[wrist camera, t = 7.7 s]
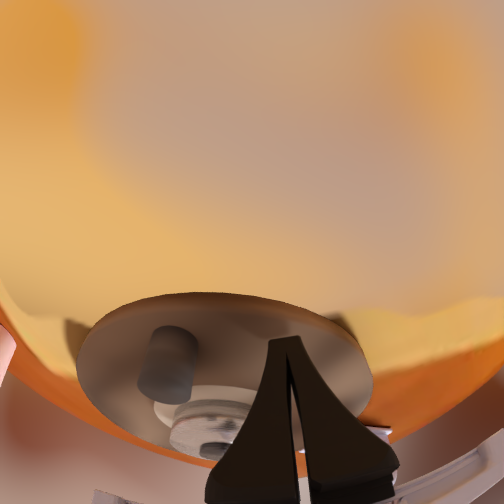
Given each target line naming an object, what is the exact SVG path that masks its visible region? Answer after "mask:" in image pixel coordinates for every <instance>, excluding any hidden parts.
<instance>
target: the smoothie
mask: <svg viewBox="0 0 504 504" xmlns="http://www.w3.org/2000/svg"><path fill="white" fill-rule="evenodd" d="M15 349H16V343H15V341H14V339H13V337H12V336H11V335H10V333H9V332H8V331H7V330H6V329H5V328H4V327H3V326H2V325H1V324H0V386H1V384H2V381H3V378H4V375H5V373H6V370H7V368H8V365H9V363H10V360H11V358H12V356H13V353H14V351H15Z"/></svg>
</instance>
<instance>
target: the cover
mask: <svg viewBox="0 0 504 504" xmlns="http://www.w3.org/2000/svg"><path fill="white" fill-rule="evenodd" d="M251 406H252V405H250V404H246V403H242V402H237V401H231V400H221V399H204V400H195V401H190V402H187V403H184V404H182V405H180V406H178V407H177V408H176V409H175V411H174V416H173V422H172V429H171V435H170V444H171V445H172V446H173V447H174V448H175V449H177V450H178V451H180V452H182V453H185V454H187V455H190V456H193V457H197V458H201V459H206V460H213V461H219V460H220V459H221V458H222V457H223V455H224V454H225V453H226V451H227V450H228V448H229V447H230V445H231V444H232V442H233V440H234V439H235V437H236V436H237V434H238V432H239V431H240V429H241V427H242V425H243V423H244V421H245V419H246V417H247V415H248V413H249V411H250V409H251Z"/></svg>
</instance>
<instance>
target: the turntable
mask: <svg viewBox="0 0 504 504" xmlns="http://www.w3.org/2000/svg"><path fill="white" fill-rule="evenodd" d="M295 335H299V336H301V340H302V342H303V345H304V347H305V349H306V351H307V353H308V355H309V357H310V359H311V361H312V362H313V364H314V366H315V367H316V369H317V370H318V372H319V374H320V375H321V377H322V378H323V380H324V381H325V382H326V384H327V385H328V386H329V388H330V389H331V390H332V392H333V393H334V394H335V395H336V397H337V398H338V399H339V400H340V401H341V402H342V404H343V405H344V406H345V407H346V408H347V409H348V410H349V411H350V412H351V413H352V414H353V415H354V416H355V417H356V418H357V417H358V416H359V415H360V414H361V413H362V412H363V410H364V409H365V407H366V406H367V404H368V402H369V400H370V398H371V395H372V390H373V376H372V374H371V371H370V368H369V366H368V363H367V360H366V358H365V355H364V353H363V350H362V349H361V347H360V346H359V344H358V343H357V342H356V340H355V339H354V338H353V337H352V336H351V335H350V334H349V333H347V332H346V331H345V330H344V329H343V328H341V327H340V326H338V325H337V324H335V323H333V322H332V321H330V320H329V319H327V318H325V317H323V316H320V315H318V314H316V313H313V312H311V311H309V310H307V309H304V308H301V307H297V306H294V305H291V304H288V303H285V302H281V301H276V300H271V299H266V298H261V297H257V296H249V295H241V294H231V293H216V292H189V293H177V294H165V295H160V296H155V297H150V298H145V299H141V300H138V301H135V302H132V303H129V304H126V305H123V306H121V307H119V308H117V309H115V310H113V311H111V312H110V313H108V314H106V315H105V316H104V317H103V318H101V320H99V321H98V322H97V323H96V324H95V325H94V326H93V328H92V329H91V330H90V332H89V333H88V335H87V337H86V339H85V341H84V342H83V344H82V346H81V348H80V351H79V354H78V356H77V362H76V371H77V377H78V380H79V382H80V385H81V387H82V389H83V391H84V392H85V394H86V396H87V397H88V398H89V400H90V401H91V402H92V404H93V405H94V406H95V407H96V408H97V409H98V410H99V411H100V412H101V413H102V414H103V415H105V416H106V417H107V418H108V419H109V420H111V421H112V422H113V423H115V424H116V425H118V426H119V427H121V428H122V429H124V430H126V431H127V432H129V433H131V434H132V435H134V436H136V437H139V438H141V439H143V440H145V441H147V442H150V443H152V444H155V445H157V446H160V447H163V448H166V449H169V450H173V451H177V452H180V451H178V450H177V449H175V448H174V447H173V446H172V445H171V444H170V435H171V429H172V422H173V416H174V411H175V409H176V408H177V407H178V406H180V405H182V404H184V403H187V402H190V401H195V400H204V399H221V400H231V401H237V402H242V403H246V404H250V405H252V404H253V402H254V399H255V397H256V394H257V391H258V388H259V385H260V382H261V379H262V375H263V371H264V368H265V363H266V358H267V352H268V341H269V340H270V339H277V338H283V337H289V336H295ZM291 399H292V430H293V440H294V448H295V451H298V450H301V449H304V442H303V434H302V428H301V423H300V419H299V415H298V411H297V407H296V403H295V399H294V394H293V390H292V386H291ZM180 453H182V452H180Z"/></svg>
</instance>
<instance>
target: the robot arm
mask: <svg viewBox="0 0 504 504" xmlns="http://www.w3.org/2000/svg"><path fill="white" fill-rule="evenodd" d="M291 386H292V390H293V394H294V399H295V403H296V407H297V411H298V415H299V419H300V423H301V428H302V434H303V442H304V449H301V450H299V452H300V453H305V458H306V466H307V474H308V483H309V492H310V501H311V504H469V503H470V502H471V501H473V500H474V499H476V498H477V497H479V496H480V495H481V494H482V493H484V492H485V491H487V490H488V489H489V488H491V487H492V486H493V485H494V484H496V483H497V482H498V481H500V480H501V479H502V478H503V477H504V428H502V429H501V430H499V431H498V432H497V433H495V434H494V435H492V436H491V437H489V438H488V439H486V440H485V441H484V442H482V443H481V444H480V445H478V447H476V448H475V449H473V450H472V451H470V452H468V453H467V454H465V455H463V456H461V457H460V458H458V459H456V460H454V461H452V462H451V463H449V464H447V465H445V466H443V467H441V468H439V469H437V470H435V471H433V472H430V473H428V474H426V475H424V476H422V477H419V478H417V479H415V480H412V481H410V482H407V483H405V484H402V485H399V486H397V487H393V485H394V483H395V481H396V477H397V468H398V467H399V466H400V464H399V461H398V458H397V456H396V454H395V453H394V451H393V449H392V448H391V447H390V443H389V440H388V436H387V435H388V434H390V433H391V432H392V429H389V428H378V427H368V426H365V425H363V424H362V423H361V422H360V421H359V420H358V419H357V418H356V417H355V416H354V415H353V414H352V413H351V412H350V411H349V410H348V409H347V408H346V407H345V406H344V405H343V404H342V402H341V401H340V400H339V399H338V398H337V397H336V395H335V394H334V393H333V392H332V390H331V389H330V388H329V386H328V385H327V384H326V382H325V381H324V380H323V378H322V377H321V375H320V374H319V372H318V370H317V369H316V367H315V366H314V364H313V362H312V361H311V359H310V357H309V355H308V353H307V351H306V349H305V347H304V345H303V342H302V340H301V336H299V335H295V336H289V337H283V338H277V339H270V340H269V341H268V352H267V358H266V363H265V368H264V371H263V375H262V379H261V382H260V385H259V388H258V391H257V394H256V397H255V399H254V402H253V404H252V406H251V409H250V411H249V413H248V415H247V417H246V419H245V421H244V423H243V425H242V427H241V429H240V431H239V432H238V434H237V436H236V437H235V439H234V440H233V442H232V444H231V445H230V447H229V448H228V450H227V451H226V453H225V454H224V455H223V457H222V458H221V459H220V460H219V462H218V463H217V464H216V465H215V467H214V468H213V469H212V470H211V472H210V474H209V477H208V479H207V483H206V487H205V503H207V504H300V501H301V500H300V491H299V483H298V474H297V465H296V457H295V448H294V440H293V430H292V399H291ZM92 504H142V503H137V502H133V501H129V500H125V499H123V498H121V497H118V496H116V495H112V494H109V493H106V492H103V491H100V490H97V489H95V490H94V494H93V500H92Z"/></svg>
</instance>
